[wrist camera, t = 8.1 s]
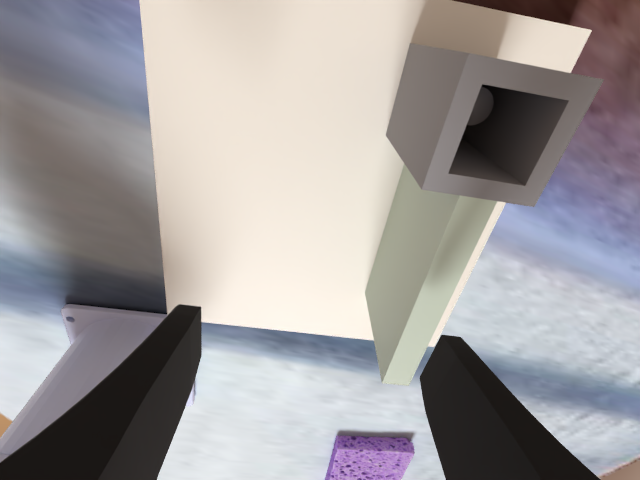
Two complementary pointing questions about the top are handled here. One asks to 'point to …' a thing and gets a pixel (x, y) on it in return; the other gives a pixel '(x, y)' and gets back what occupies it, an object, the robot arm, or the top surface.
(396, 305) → the door leaf
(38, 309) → the top surface
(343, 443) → the sponges
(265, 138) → the board
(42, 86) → the top surface
